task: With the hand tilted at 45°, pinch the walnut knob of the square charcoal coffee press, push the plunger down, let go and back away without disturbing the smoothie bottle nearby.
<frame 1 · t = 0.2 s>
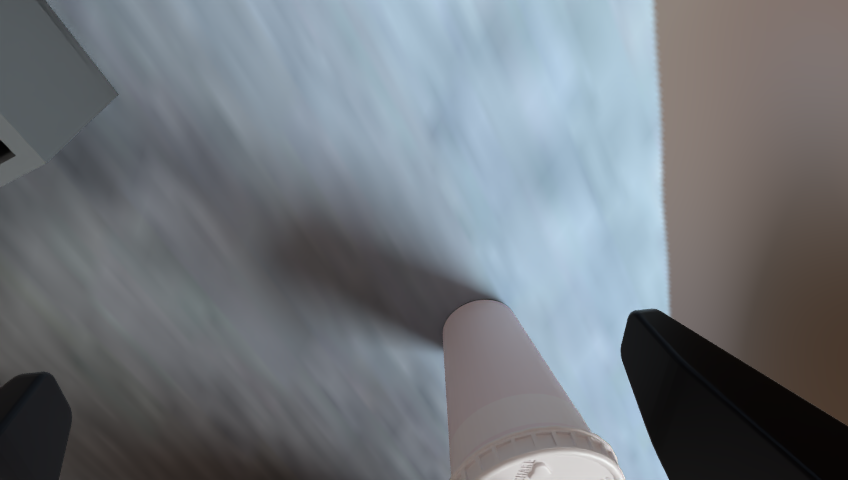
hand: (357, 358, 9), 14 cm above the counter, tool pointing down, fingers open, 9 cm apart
smoothie: (478, 327, 28), on the counter
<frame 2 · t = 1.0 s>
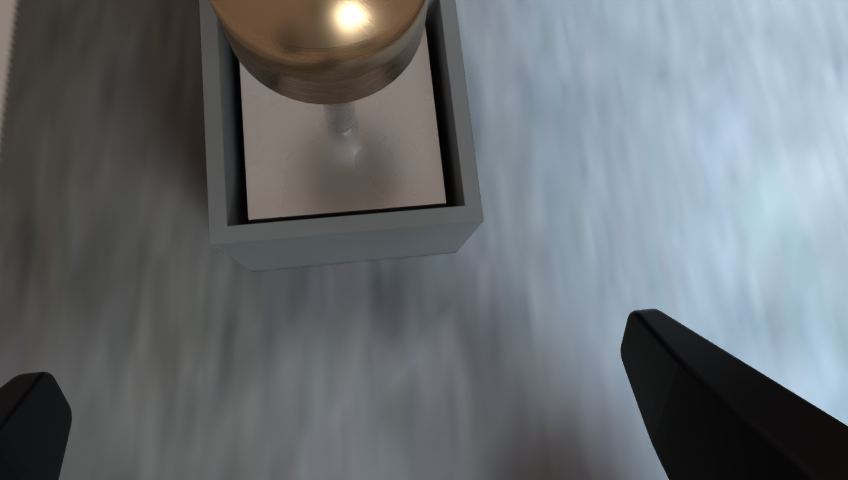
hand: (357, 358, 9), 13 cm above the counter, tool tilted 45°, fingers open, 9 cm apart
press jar: (347, 165, 24), on the counter
plunger: (332, 58, 15), point 9 cm above the counter, slide at 0.0 cm
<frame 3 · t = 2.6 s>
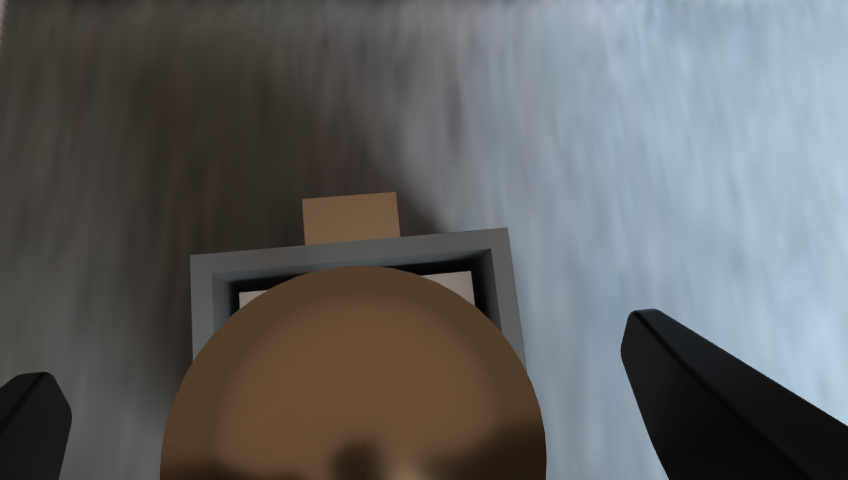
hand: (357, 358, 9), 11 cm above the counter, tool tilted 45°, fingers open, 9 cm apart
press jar: (368, 389, 20), on the counter
plunger: (364, 415, 11), point 9 cm above the counter, slide at 0.0 cm
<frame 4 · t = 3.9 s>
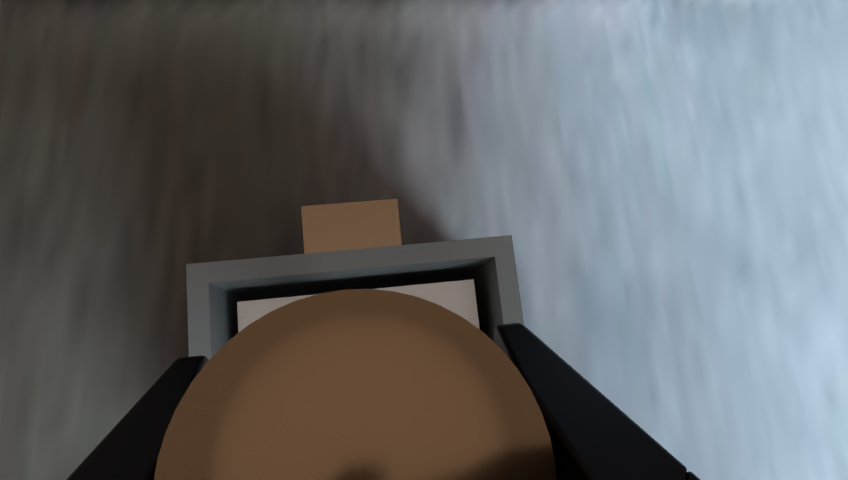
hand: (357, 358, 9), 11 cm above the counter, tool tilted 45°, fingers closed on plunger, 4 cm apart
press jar: (369, 397, 19), on the counter
plunger: (366, 433, 11), point 9 cm above the counter, slide at 0.0 cm, touching gripper
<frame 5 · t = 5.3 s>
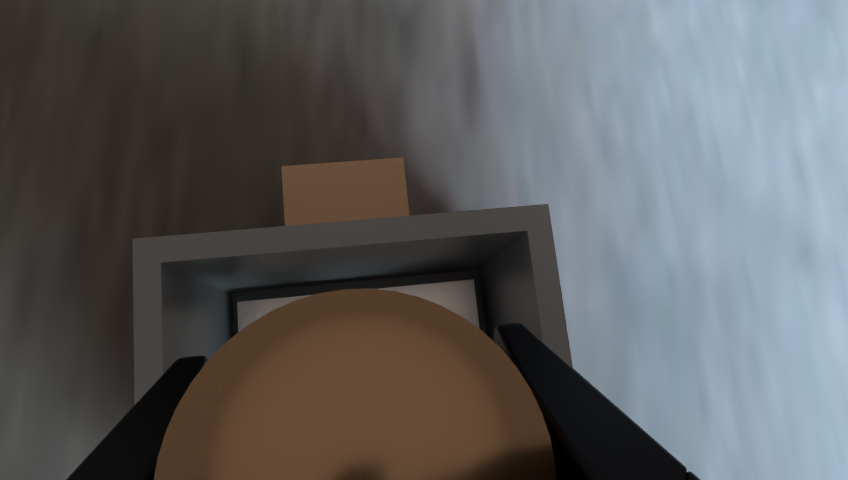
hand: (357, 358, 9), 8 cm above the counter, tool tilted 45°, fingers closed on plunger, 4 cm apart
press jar: (368, 406, 16), on the counter
plunger: (366, 433, 11), point 6 cm above the counter, slide at 3.2 cm, touching gripper
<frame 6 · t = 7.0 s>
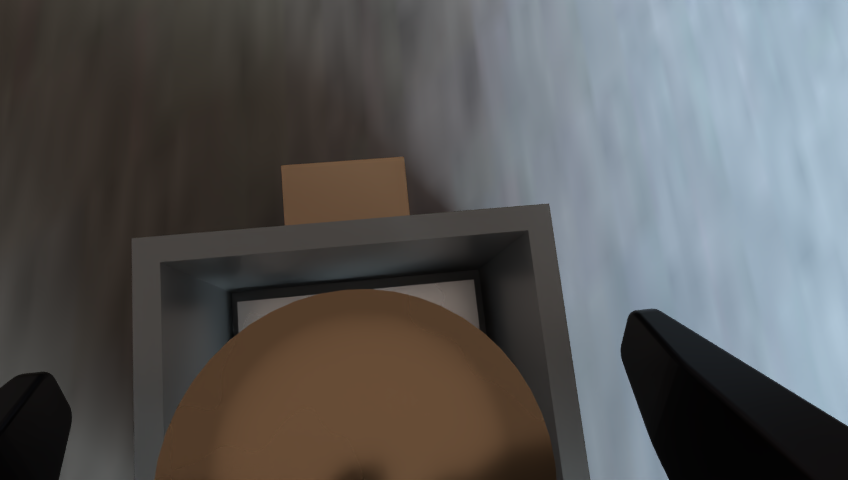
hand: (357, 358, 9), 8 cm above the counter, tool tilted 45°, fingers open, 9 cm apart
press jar: (368, 406, 16), on the counter
plunger: (366, 433, 11), point 6 cm above the counter, slide at 3.2 cm
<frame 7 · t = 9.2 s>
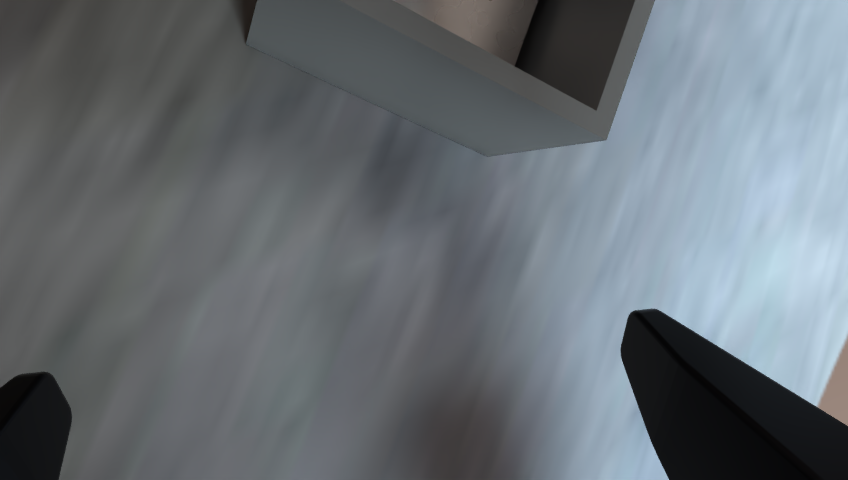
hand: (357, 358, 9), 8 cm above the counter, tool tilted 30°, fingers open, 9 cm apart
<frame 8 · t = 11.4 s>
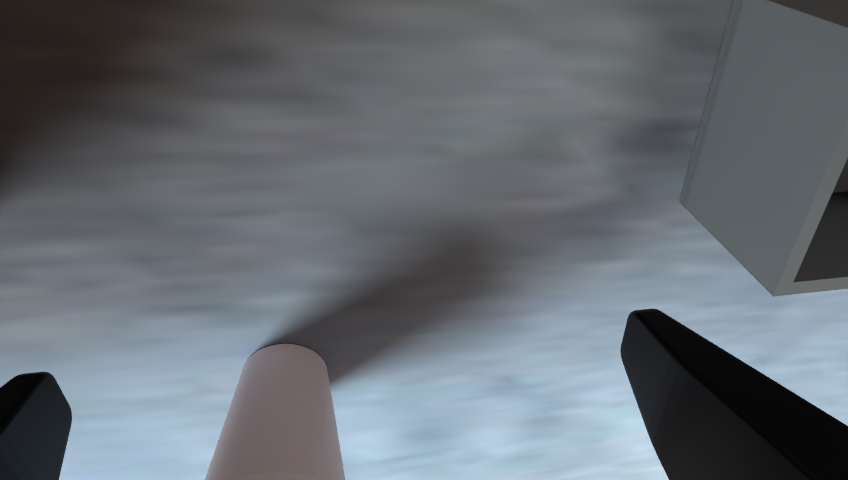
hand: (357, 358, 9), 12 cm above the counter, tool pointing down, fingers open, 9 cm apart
smoothie: (286, 370, 26), on the counter
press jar: (806, 100, 21), on the counter
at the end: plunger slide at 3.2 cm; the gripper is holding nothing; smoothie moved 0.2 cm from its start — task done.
